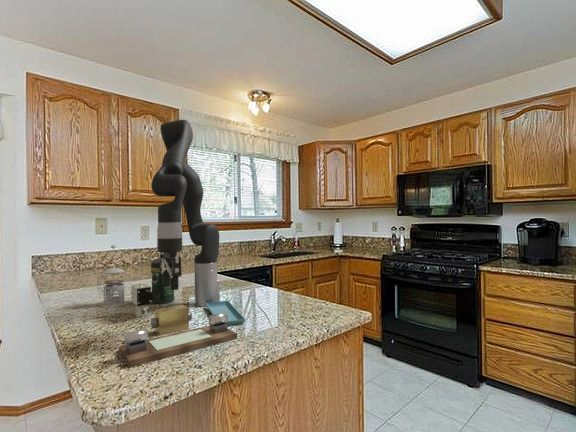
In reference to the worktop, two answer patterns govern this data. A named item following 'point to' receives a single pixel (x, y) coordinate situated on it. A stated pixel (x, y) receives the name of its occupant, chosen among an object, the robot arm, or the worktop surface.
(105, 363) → the worktop surface
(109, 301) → the french press
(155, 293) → the coffee jar
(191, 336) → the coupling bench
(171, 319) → the coupling block
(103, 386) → the worktop surface
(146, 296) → the pneumatic valve
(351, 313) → the worktop surface
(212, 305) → the rectangular tray
